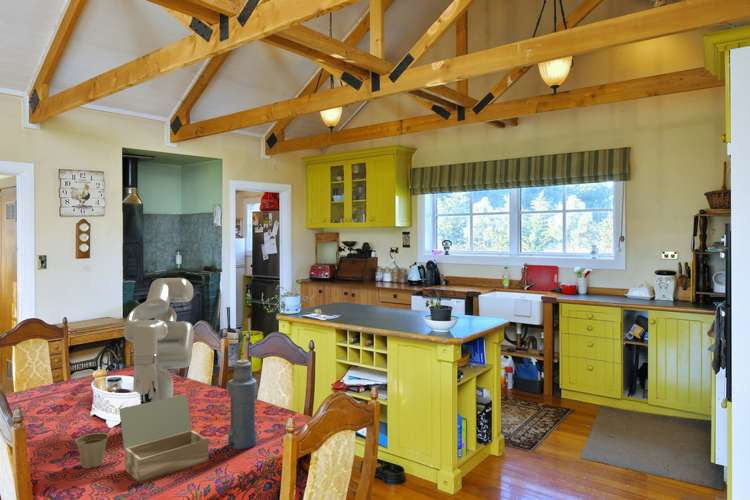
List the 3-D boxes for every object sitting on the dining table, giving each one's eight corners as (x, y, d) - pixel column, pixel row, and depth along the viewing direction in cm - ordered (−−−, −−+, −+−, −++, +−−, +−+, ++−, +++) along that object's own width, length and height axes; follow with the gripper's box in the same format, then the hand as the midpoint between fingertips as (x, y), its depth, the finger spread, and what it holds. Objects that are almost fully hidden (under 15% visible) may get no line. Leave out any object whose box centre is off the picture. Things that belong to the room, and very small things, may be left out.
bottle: (227, 441, 185) (226, 358, 185) (254, 437, 189) (254, 356, 188) (230, 451, 176) (229, 364, 176) (259, 447, 180) (258, 362, 179)
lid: (125, 448, 162) (123, 448, 163) (191, 430, 178) (190, 430, 179) (120, 408, 165) (118, 408, 166) (186, 393, 180) (185, 394, 181)
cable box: (125, 470, 162) (125, 448, 162) (192, 450, 178) (191, 430, 178) (139, 483, 154) (139, 460, 154) (208, 460, 169) (208, 439, 169)
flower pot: (84, 458, 171) (84, 433, 171) (113, 457, 172) (113, 432, 172) (70, 471, 162) (69, 444, 161) (101, 470, 162) (100, 443, 162)
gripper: (126, 357, 180) (127, 409, 180) (142, 365, 169) (143, 420, 170) (148, 354, 185) (149, 405, 186) (165, 361, 175) (166, 414, 175)
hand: (146, 412), depth 178 cm, fingers closed
